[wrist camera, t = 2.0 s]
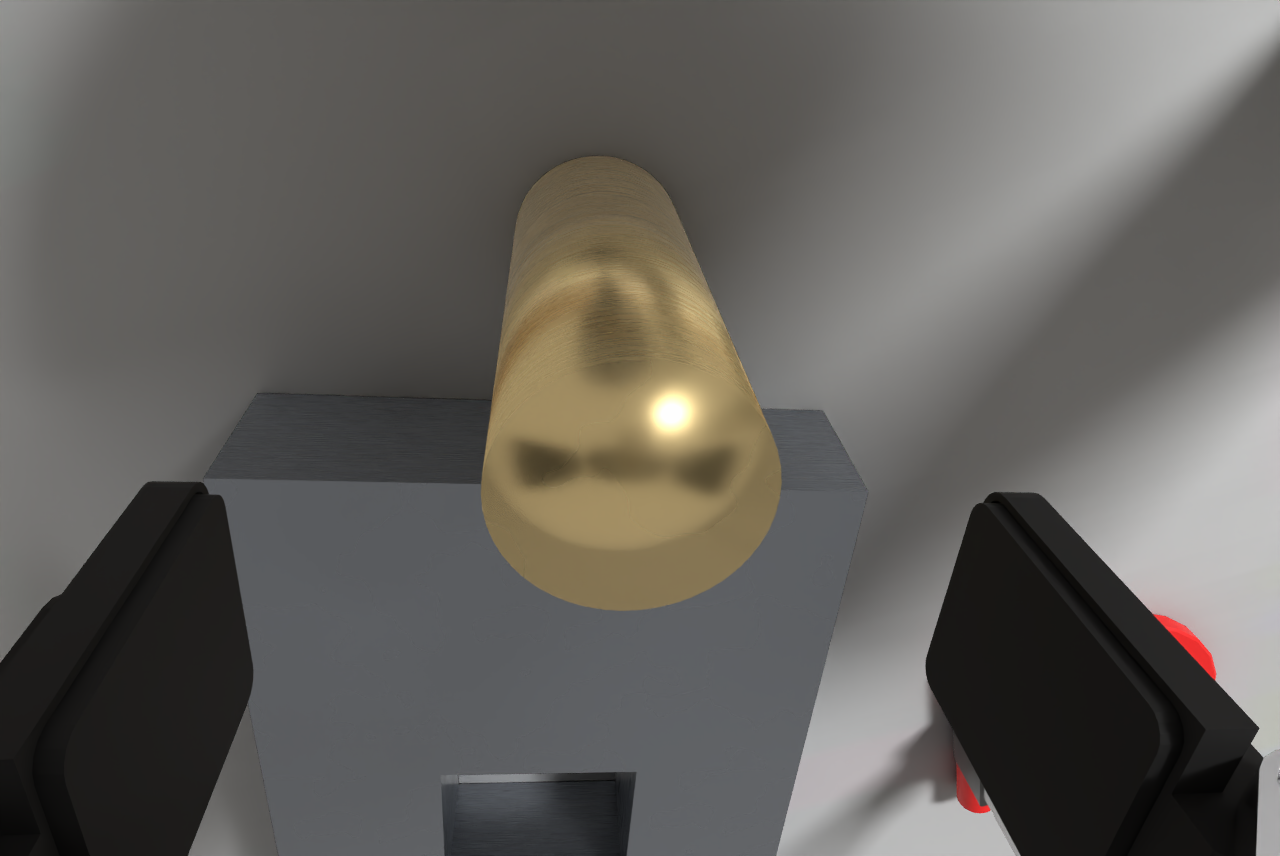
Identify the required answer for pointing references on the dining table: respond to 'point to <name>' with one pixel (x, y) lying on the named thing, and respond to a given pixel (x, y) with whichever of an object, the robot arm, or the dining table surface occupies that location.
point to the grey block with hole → (510, 650)
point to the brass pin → (620, 403)
